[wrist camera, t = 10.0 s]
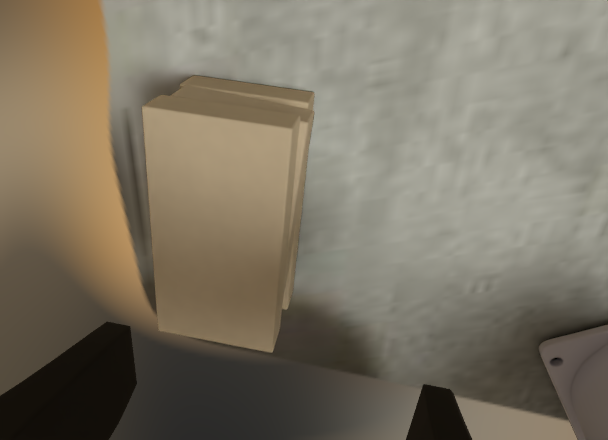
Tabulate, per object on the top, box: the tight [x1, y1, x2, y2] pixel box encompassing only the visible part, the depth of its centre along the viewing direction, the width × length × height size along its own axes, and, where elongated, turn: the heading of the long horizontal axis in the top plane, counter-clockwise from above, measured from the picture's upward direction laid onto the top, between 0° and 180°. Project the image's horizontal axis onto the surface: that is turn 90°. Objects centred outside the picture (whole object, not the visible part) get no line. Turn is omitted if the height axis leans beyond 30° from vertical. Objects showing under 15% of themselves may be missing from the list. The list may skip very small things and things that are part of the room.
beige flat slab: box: [142, 95, 300, 353], centre depth 17 cm, size 9×5×1 cm, turn 174°
